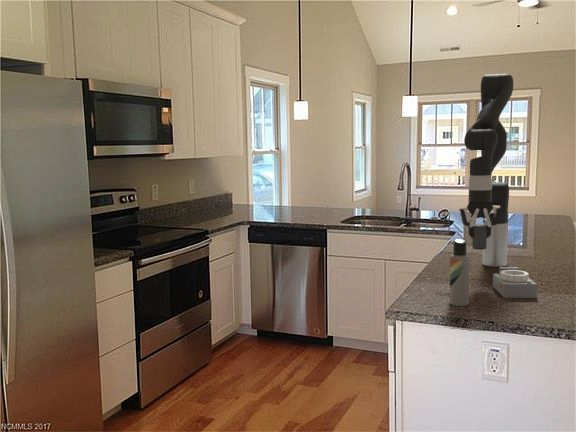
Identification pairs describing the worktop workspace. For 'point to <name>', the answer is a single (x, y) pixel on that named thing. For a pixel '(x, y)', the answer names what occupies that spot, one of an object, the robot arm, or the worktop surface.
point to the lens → (479, 237)
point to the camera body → (514, 283)
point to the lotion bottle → (459, 274)
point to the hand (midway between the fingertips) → (479, 237)
